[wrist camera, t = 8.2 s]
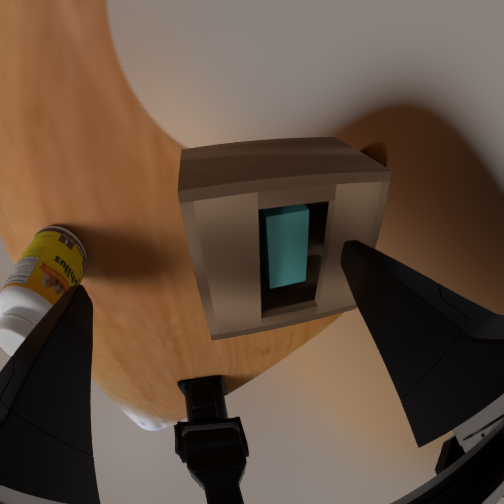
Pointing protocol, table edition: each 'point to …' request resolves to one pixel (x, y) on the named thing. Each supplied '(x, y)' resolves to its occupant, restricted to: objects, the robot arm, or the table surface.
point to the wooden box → (247, 226)
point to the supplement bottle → (39, 283)
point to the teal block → (284, 243)
